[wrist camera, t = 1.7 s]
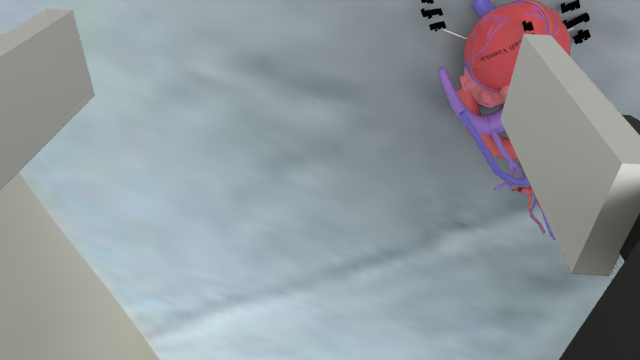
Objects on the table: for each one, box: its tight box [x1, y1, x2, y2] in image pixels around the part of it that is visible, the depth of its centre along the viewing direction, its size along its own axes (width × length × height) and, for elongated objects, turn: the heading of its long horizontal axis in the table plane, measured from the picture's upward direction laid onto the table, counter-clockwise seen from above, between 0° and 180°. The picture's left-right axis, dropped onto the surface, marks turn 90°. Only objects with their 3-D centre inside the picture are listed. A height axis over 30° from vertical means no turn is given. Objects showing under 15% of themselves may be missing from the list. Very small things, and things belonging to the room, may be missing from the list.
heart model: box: [421, 0, 591, 240], centre depth 35 cm, size 17×10×20 cm
